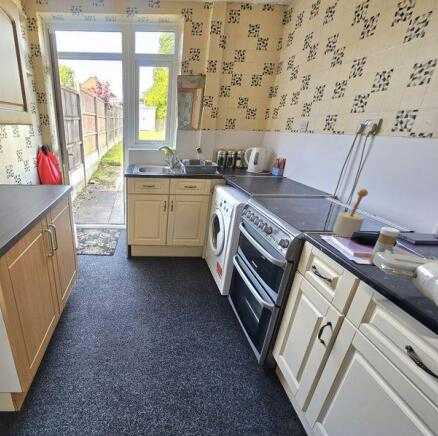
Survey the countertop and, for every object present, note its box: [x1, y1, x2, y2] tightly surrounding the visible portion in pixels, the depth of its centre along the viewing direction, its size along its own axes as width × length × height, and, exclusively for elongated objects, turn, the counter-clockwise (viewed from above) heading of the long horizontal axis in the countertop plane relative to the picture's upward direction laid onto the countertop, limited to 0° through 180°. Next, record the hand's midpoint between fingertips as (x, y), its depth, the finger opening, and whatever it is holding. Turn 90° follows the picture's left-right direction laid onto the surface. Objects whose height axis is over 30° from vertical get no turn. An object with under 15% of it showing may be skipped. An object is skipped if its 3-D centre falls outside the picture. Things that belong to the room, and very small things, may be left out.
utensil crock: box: [332, 188, 369, 239], centre depth 106 cm, size 9×9×22 cm
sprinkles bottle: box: [368, 226, 401, 266], centre depth 85 cm, size 5×5×14 cm
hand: (407, 255), depth 73 cm, fingers open, 8 cm apart
